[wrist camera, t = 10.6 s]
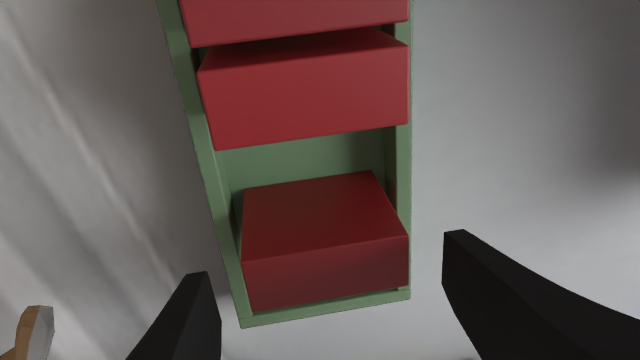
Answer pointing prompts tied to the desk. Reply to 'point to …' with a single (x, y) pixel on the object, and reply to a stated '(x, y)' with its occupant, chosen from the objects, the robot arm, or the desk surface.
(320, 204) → the red book
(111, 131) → the desk surface
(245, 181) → the green book tray
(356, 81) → the rack books
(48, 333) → the toy
